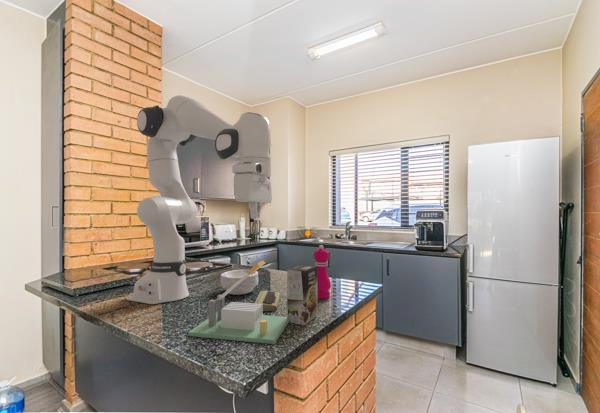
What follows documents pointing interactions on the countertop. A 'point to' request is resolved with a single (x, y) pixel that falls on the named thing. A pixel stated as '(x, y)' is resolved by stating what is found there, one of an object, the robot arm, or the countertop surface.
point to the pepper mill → (322, 273)
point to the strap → (241, 280)
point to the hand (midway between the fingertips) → (255, 218)
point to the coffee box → (302, 294)
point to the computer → (268, 300)
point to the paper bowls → (233, 276)
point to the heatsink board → (243, 334)
